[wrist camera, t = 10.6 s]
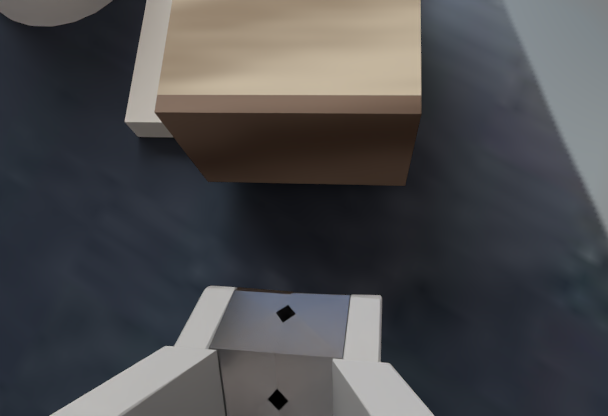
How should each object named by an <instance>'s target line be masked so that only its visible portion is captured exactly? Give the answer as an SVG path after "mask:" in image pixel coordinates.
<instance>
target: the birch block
mask: <svg viewBox="0 0 608 416" xmlns="http://www.w3.org/2000/svg"><path fill="white" fill-rule="evenodd" d="M154 113H155V114H156V115H157V116H158V118H159V119H160V120H161V122H162V123H163V124H164V126H165V127H166V128H167V129H168V131H169V132H170V133H171V135H172V136H173V137H174V138H175V140H176V141H177V142H178V144H179V145H180V146H181V147H182V149H183V150H184V151H185V153H186V154H187V155H188V157H189V158H190V159H191V160H192V162H193V163H194V164H195V166H196V167H197V168H198V169H199V171H200V172H201V173H202V175H203V176H204V177H205V178H206V180H207V181H208V182H249V183H296V184H343V185H390V186H405V184H406V179H407V175H408V171H409V166H410V162H411V157H412V153H413V149H414V144H415V140H416V135H417V131H418V127H419V122H420V118H421V0H172V6H171V12H170V18H169V24H168V30H167V37H166V43H165V49H164V55H163V61H162V68H161V74H160V80H159V86H158V92H157V99H156V105H155V111H154Z"/></svg>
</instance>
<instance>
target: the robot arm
mask: <svg viewBox="0 0 608 416" xmlns="http://www.w3.org/2000/svg"><path fill="white" fill-rule="evenodd" d="M381 324H382V297H381V296H380V295H353V294H352V295H335V294H315V293H295V292H289V291H277V290H265V289H252V288H240V287H238V288H236V287H224V286H209V287H207V288H206V289H205V290H204V291H203V293H202V295H201V297H200V299H199V301H198V303H197V304H196V306H195V308H194V310H193V312H192V314H191V316H190V317H189V319H188V321H187V323H186V325H185V327H184V329H183V330H182V332H181V334H180V336H179V338H178V340H177V342H176V343H175V345H174V347H173V346H165V347H163V348H161V349H160V350H158V351H156V352H155V353H153V354H151V355H150V356H148V357H146V358H145V359H143V360H141V361H140V362H138V363H136V364H135V365H133V366H131V367H130V368H128V369H126V370H125V371H123V372H121V373H120V374H118V375H116V376H115V377H113V378H111V379H110V380H108V381H106V382H105V383H103V384H102V385H100V386H98V387H97V388H95V389H93V390H92V391H90V392H88V393H87V394H85V395H83V396H82V397H80V398H78V399H77V400H75V401H73V402H72V403H70V404H68V405H67V406H65V407H63V408H62V409H60V410H58V411H57V412H55V413H53V414H52V415H50V416H434V415H433V413H432V412H431V411H430V410H429V409H428V407H427V406H426V405H425V404H424V403H423V402H422V400H421V399H420V398H419V397H418V396H417V395H416V393H415V392H414V391H413V390H412V389H411V388H410V386H409V385H408V384H407V383H406V382H405V380H404V379H403V378H402V377H401V376H400V375H399V373H398V372H397V371H396V370H395V369H394V368H393V366H392V365H391V364H390V363H382V362H381Z"/></svg>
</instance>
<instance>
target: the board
mask: <svg viewBox="0 0 608 416" xmlns="http://www.w3.org/2000/svg"><path fill="white" fill-rule="evenodd" d="M171 6H172V0H147V1H146V7H145V12H144V18H143V23H142V29H141V34H140V40H139V45H138V51H137V56H136V62H135V67H134V73H133V78H132V84H131V89H130V95H129V100H128V106H127V111H126V117H125V123H126V124H127V125H128V126H129V127H130V129H131V130H132V131H133V132H134V133H135V134H136V135H137V136H138V137H173V136H172V135H171V133H170V132H169V131H168V129H167V128H166V127H165V126H164V124H163V123H162V122H161V120H160V119H159V118H158V116H157V115H156V114H155V113H154V111H155V105H156V99H157V92H158V86H159V80H160V74H161V68H162V61H163V55H164V49H165V43H166V37H167V30H168V24H169V18H170V12H171Z"/></svg>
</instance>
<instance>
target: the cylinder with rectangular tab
mask: <svg viewBox="0 0 608 416" xmlns="http://www.w3.org/2000/svg"><path fill="white" fill-rule="evenodd" d="M112 1H113V0H0V12H1V13H2V14H3V15H5V16H6V17H8V18H9V19H11V20H13V21H16V22H19V23H23V24H26V25H30V26H57V25H62V24H67V23H72V22H76V21H78V20H80V19H83V18H85V17H87V16H89V15H92V14H94V13H96V12H98V11H99V10H100V9H102V8H103V7H105V6H106V5H107V4H109V3H110V2H112Z"/></svg>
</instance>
